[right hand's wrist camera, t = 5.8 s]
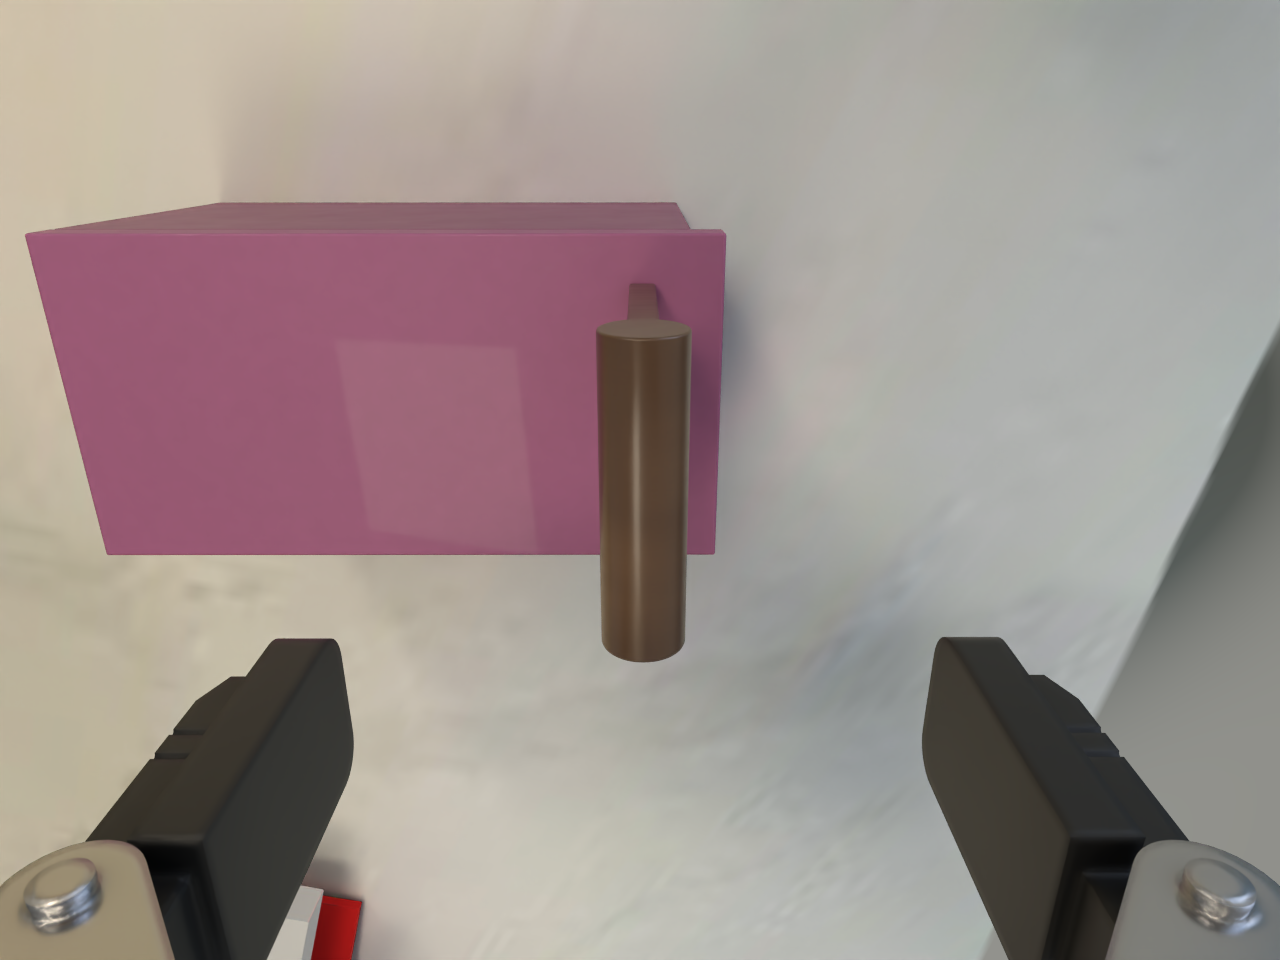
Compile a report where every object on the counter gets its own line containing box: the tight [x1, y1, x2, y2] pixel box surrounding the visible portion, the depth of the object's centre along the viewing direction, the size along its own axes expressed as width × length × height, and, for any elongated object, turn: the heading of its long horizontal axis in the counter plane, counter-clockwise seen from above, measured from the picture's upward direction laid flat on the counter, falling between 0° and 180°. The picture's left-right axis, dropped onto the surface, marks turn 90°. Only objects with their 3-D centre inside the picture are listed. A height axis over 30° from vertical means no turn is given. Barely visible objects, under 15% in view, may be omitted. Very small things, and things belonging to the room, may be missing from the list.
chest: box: [55, 203, 690, 230], centre depth 30 cm, size 18×9×10 cm, turn 90°
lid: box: [25, 229, 726, 662], centre depth 21 cm, size 18×9×8 cm, turn 90°
